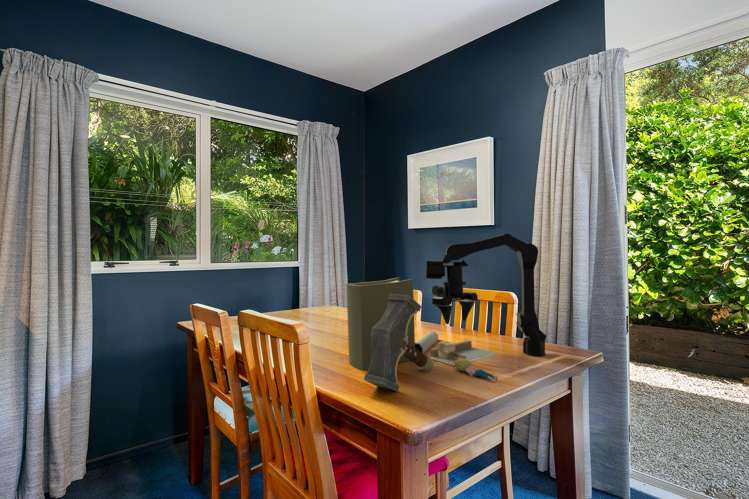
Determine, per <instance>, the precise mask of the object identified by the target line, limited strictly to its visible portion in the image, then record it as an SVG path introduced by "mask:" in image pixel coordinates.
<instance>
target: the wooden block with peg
mask: <svg viewBox="0 0 749 499" xmlns="http://www.w3.org/2000/svg"><path fill="white" fill-rule="evenodd" d="M455 343H456V342H452V341H447V340H446V341H439V342H438V343H437V344H438V357H440V358H443V359H452V358H455V357H457V358H458V357H459V356H461V357H462V358H463V359H466V355H462V354H458V353H455Z"/></svg>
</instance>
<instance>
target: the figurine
mask: <svg viewBox="0 0 749 499" xmlns="http://www.w3.org/2000/svg"><path fill="white" fill-rule="evenodd" d="M455 360H456V361H455V362H454V364H453V366H455V367H454V368H455V370H456V371H458V372H463V373H467V374H469V375H470V377H471V378H473V376H475V377H479V378H485V379H489V380H490V383H494V379H495V382H497V381H498V376H497V375H494V374H492V373H489V372H487V371H485V370H483V369H479V368H476V367H473V366H471V365H470V362H468V360H466V359H463V358H462V357H461V356H459V357H458V358H457V357H455Z"/></svg>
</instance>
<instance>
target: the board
mask: <svg viewBox="0 0 749 499" xmlns="http://www.w3.org/2000/svg"><path fill="white" fill-rule="evenodd" d="M454 343H455V353H458V354H462V355H466V360H468V362H469V363H472V362H475V361H479V360H483V359H486V358H490V357H495V356H497V355H499V353H498V352H494V351H489V350H486V349H481V348H476V347H473V345H472V343H473V342H472V340H465V341H459V342H454ZM429 349H430V351H429V352H430V353H429V354H430V355H428V356H429V357H430V358H431V359H432V361H434V362H436V363H440V364H443V365H446V366H450V367H454V368H455V365H454V362H455V361H456V360H455V358H452V359H443V358H440V357H438V347H433V348H429Z"/></svg>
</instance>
